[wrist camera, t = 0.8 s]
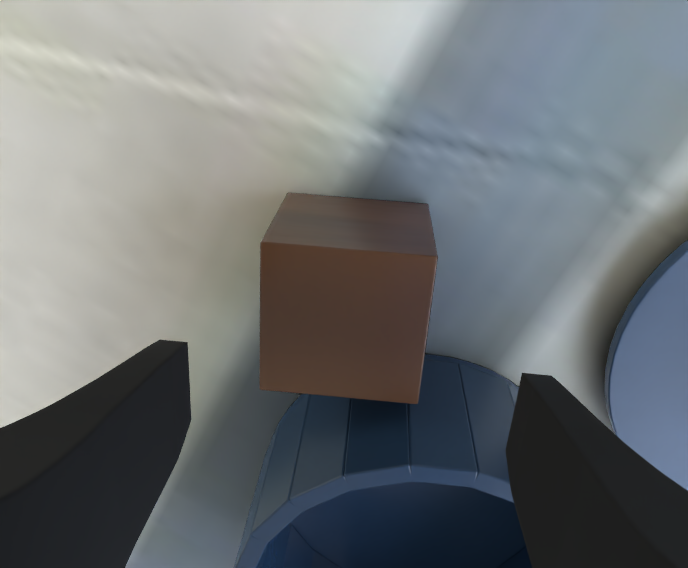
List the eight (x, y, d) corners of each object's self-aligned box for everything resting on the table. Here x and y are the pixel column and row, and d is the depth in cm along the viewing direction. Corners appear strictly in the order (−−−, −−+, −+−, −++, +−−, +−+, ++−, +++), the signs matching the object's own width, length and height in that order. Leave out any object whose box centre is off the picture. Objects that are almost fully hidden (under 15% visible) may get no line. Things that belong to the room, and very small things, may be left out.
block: (413, 328, 22) (418, 404, 17) (284, 316, 22) (259, 390, 18) (428, 203, 20) (438, 256, 16) (287, 192, 20) (260, 241, 16)
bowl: (534, 599, 27) (570, 751, 21) (265, 572, 27) (233, 713, 22) (598, 368, 22) (665, 489, 16) (268, 339, 22) (228, 447, 17)
